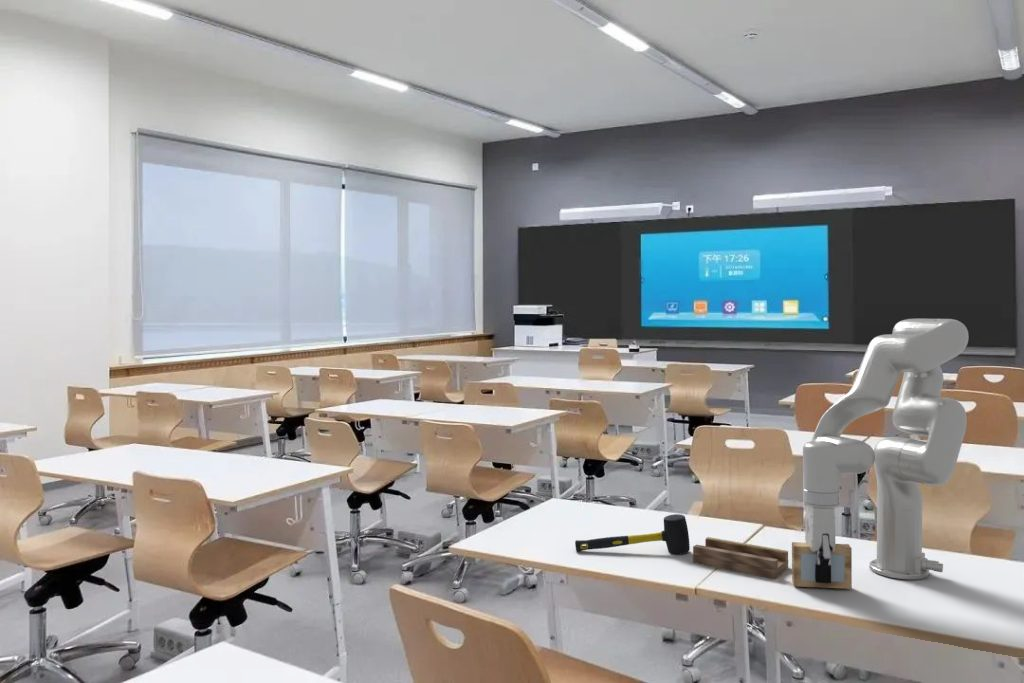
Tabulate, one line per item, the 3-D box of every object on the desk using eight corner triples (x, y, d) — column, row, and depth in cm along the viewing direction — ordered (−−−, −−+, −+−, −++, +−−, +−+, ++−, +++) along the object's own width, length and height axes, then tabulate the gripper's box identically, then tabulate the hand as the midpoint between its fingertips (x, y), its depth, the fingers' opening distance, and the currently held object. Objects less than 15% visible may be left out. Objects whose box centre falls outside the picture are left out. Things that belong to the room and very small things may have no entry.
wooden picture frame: (848, 584, 175) (848, 544, 175) (851, 589, 172) (851, 548, 172) (792, 581, 178) (791, 542, 177) (794, 586, 174) (793, 546, 174)
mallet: (575, 555, 199) (575, 518, 199) (574, 548, 205) (574, 512, 205) (691, 556, 198) (691, 518, 198) (687, 549, 204) (687, 512, 204)
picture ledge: (788, 567, 189) (788, 550, 188) (774, 578, 181) (774, 560, 180) (708, 552, 200) (708, 536, 200) (692, 562, 192) (692, 545, 192)
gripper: (797, 488, 183) (797, 566, 184) (809, 506, 167) (810, 591, 167) (831, 489, 181) (832, 568, 182) (847, 507, 165) (847, 593, 166)
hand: (821, 578), depth 175 cm, fingers closed on wooden picture frame, 3 cm apart
